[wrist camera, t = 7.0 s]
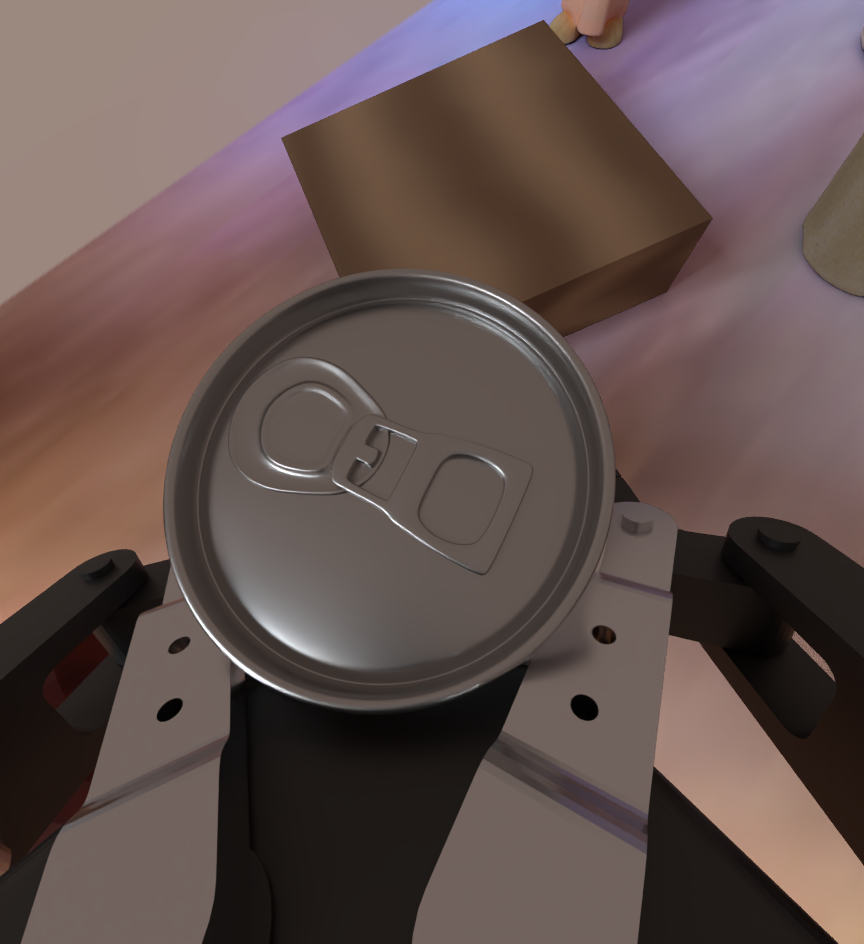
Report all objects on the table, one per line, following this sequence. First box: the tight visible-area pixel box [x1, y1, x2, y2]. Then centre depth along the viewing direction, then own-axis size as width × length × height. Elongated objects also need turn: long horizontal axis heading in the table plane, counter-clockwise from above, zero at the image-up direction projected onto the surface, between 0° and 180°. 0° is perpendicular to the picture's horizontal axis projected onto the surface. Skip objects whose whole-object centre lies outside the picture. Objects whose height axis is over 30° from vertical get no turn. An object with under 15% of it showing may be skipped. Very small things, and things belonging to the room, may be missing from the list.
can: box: [163, 269, 616, 715], centre depth 11 cm, size 6×6×12 cm
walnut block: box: [281, 20, 712, 337], centre depth 19 cm, size 14×14×4 cm
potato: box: [26, 633, 109, 855], centre depth 14 cm, size 7×8×7 cm
